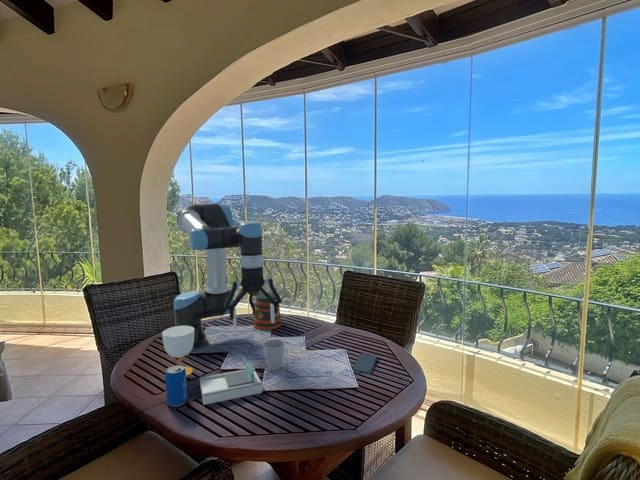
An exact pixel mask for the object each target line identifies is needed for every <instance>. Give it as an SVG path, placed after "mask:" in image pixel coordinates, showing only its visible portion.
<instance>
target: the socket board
mask: <svg viewBox="0 0 640 480" xmlns="http://www.w3.org/2000/svg"><path fill="white" fill-rule="evenodd" d="M251 368H252V370H253V372H254V383H251V384H246V385H241V386H236V387H231V388H228V386H227V383H226V380H225V377H224V374H230V373H235V372H240V371H246V368H245V369H239V370H236V371H235V370H234V371H229V372H225V373H220V374H213V375H207V376H202V377H199V386H200V387H199V388H200V393H201V399H202V404H203V405H204V406H205V405H209V404H214V403H219V402H224V401H230V400H234V399H239V398H245V397H249V396H254V395H257V394H261V393H263V381H262V380H261V379H260V377H259V375H258V373H257V372H256V367H251Z"/></svg>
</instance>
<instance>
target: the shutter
mask: <svg viewBox="0 0 640 480" xmlns="http://www.w3.org/2000/svg"><path fill="white" fill-rule="evenodd" d="M252 368H253V367H252V366H251V364H250V362H246V363H245V369H246V371H240V370H239V371H240V372H235V373H230V374H224V377H225V380H226V383H227V386H228V388H231V387H236V386H241V385H246V384H251V383H254V372H253V370H252Z"/></svg>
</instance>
